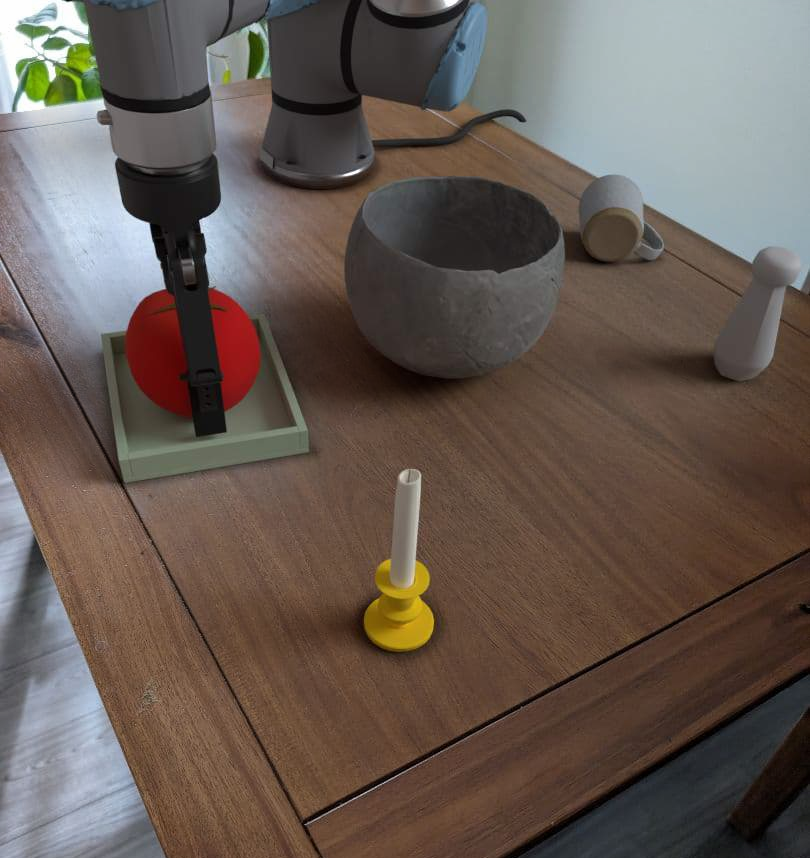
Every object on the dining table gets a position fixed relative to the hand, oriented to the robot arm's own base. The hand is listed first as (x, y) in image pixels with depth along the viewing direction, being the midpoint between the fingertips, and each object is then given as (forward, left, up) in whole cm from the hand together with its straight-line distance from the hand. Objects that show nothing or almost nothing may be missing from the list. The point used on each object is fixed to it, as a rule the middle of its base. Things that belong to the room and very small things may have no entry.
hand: (200, 390), depth 80 cm
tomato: (0, 0, -1) cm, 1 cm away
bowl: (-25, -2, -2) cm, 25 cm away
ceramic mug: (-53, -18, -2) cm, 56 cm away
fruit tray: (0, 0, -1) cm, 1 cm away
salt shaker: (-54, +8, -2) cm, 54 cm away
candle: (-10, +30, -2) cm, 32 cm away
